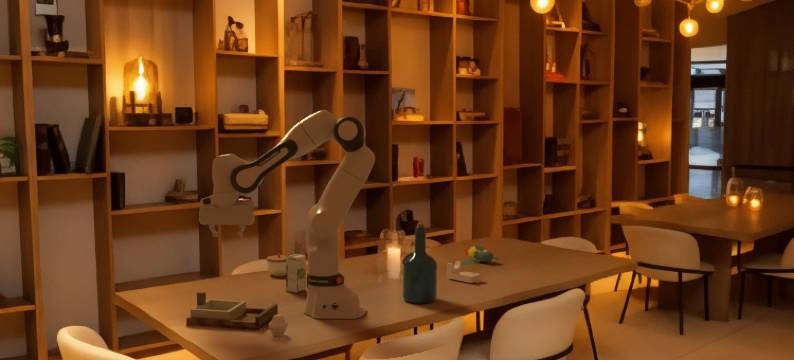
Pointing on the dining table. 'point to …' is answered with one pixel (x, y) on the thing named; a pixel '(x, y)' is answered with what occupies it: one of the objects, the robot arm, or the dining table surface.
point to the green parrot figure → (478, 255)
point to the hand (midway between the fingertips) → (227, 236)
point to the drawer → (217, 308)
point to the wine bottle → (419, 272)
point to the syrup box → (295, 273)
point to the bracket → (461, 273)
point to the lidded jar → (277, 265)
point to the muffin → (278, 325)
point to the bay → (239, 319)
